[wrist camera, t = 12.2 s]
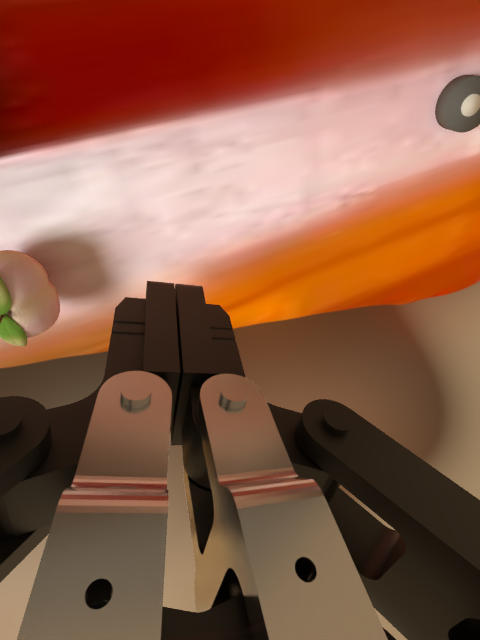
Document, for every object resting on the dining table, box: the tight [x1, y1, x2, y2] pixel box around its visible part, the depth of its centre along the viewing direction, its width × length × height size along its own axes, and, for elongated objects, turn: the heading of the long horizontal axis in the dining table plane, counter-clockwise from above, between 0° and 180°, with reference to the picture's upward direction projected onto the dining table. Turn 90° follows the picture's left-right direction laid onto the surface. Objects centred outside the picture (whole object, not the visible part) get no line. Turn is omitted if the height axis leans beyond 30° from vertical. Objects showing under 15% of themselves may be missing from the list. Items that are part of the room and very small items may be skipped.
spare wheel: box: [435, 75, 480, 132], centre depth 39 cm, size 5×5×2 cm
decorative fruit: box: [0, 250, 60, 346], centre depth 38 cm, size 9×8×10 cm
